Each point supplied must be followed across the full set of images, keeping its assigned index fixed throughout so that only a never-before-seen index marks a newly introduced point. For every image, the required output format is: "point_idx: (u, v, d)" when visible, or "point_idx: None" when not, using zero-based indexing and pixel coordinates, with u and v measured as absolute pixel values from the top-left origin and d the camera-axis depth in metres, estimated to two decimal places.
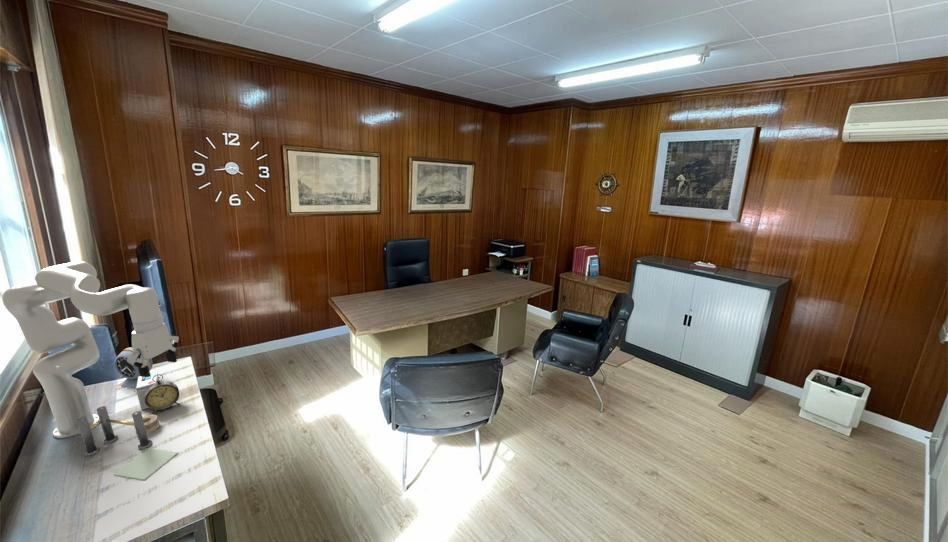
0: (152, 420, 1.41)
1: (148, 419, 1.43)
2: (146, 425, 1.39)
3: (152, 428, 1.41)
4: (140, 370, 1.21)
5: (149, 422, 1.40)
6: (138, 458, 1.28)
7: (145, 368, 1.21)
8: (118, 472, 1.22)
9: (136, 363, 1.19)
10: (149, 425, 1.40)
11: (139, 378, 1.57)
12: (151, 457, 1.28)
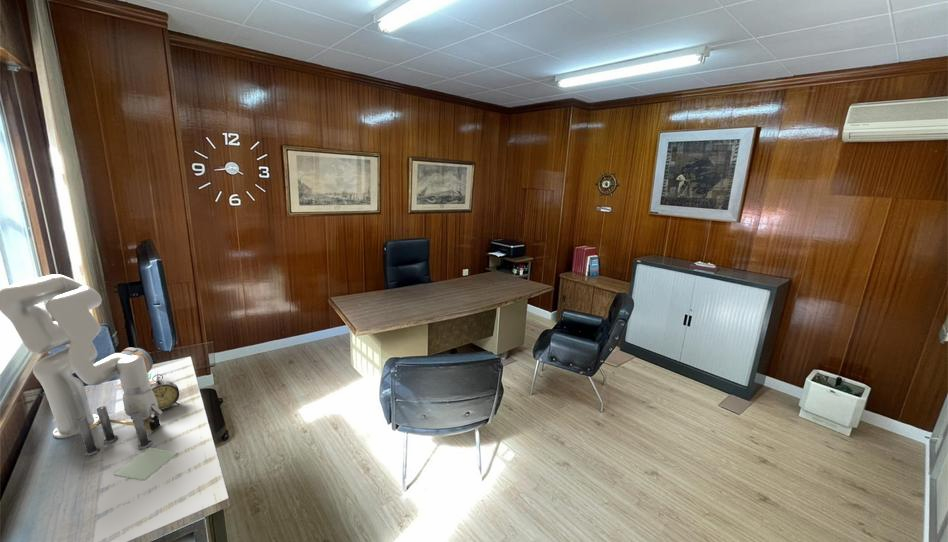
0: None
1: (148, 419, 1.43)
2: (146, 425, 1.39)
3: None
4: (156, 422, 1.41)
5: None
6: (138, 458, 1.28)
7: (157, 419, 1.42)
8: (118, 472, 1.22)
9: None
10: (149, 425, 1.40)
11: None
12: (151, 457, 1.28)
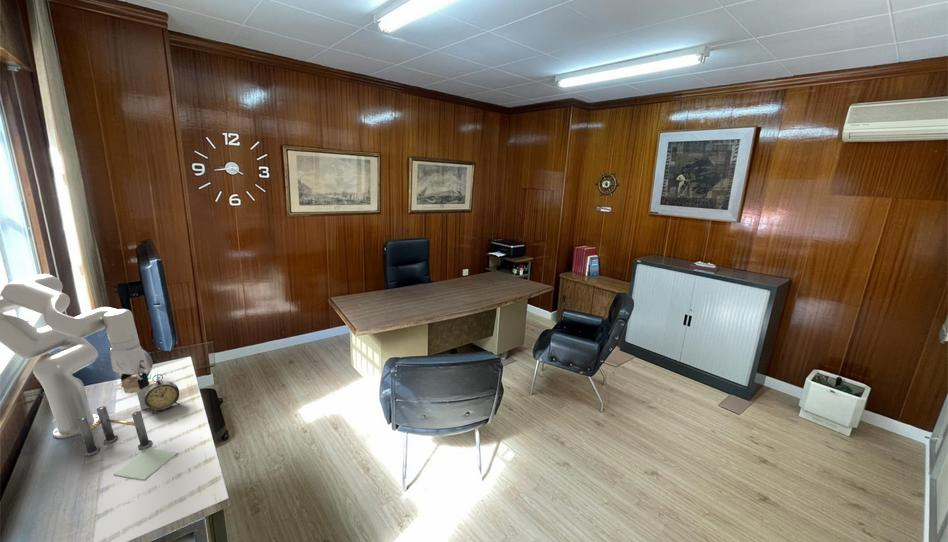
0: None
1: (137, 377, 1.38)
2: (134, 383, 1.34)
3: None
4: (144, 380, 1.35)
5: None
6: (138, 458, 1.28)
7: None
8: (118, 472, 1.22)
9: None
10: (137, 383, 1.34)
11: None
12: (151, 457, 1.28)
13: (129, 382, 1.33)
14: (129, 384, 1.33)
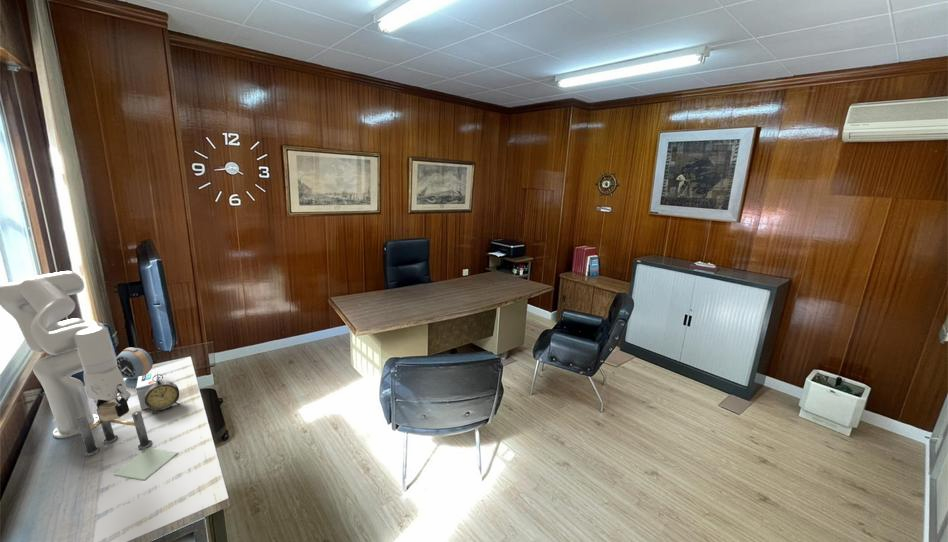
0: None
1: None
2: (111, 409, 1.19)
3: None
4: (123, 407, 1.20)
5: None
6: (138, 458, 1.28)
7: (125, 403, 1.21)
8: (118, 472, 1.22)
9: None
10: (115, 409, 1.19)
11: (139, 378, 1.57)
12: (151, 457, 1.28)
13: (106, 409, 1.18)
14: (105, 411, 1.18)
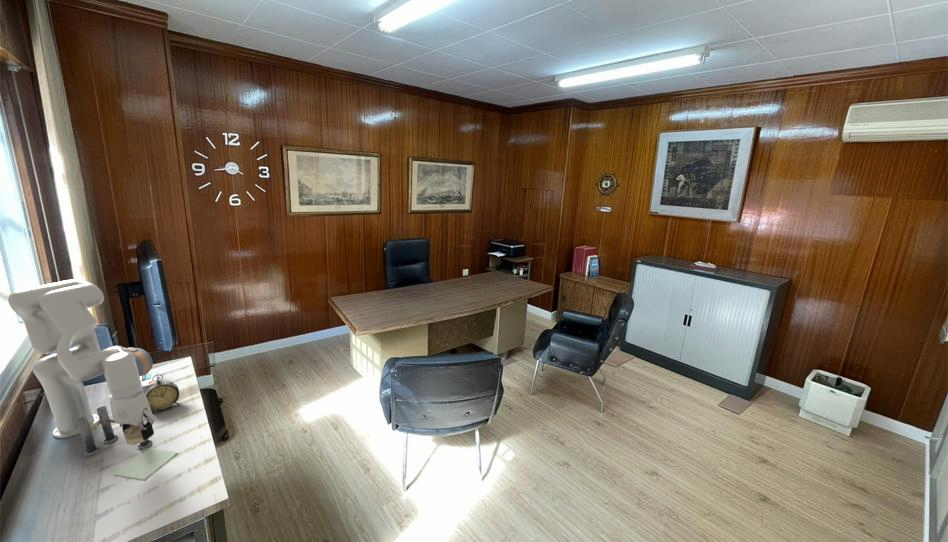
0: None
1: None
2: (137, 433, 1.20)
3: None
4: (148, 430, 1.21)
5: None
6: (138, 458, 1.28)
7: (150, 426, 1.22)
8: (118, 472, 1.22)
9: None
10: None
11: None
12: (151, 457, 1.28)
13: (131, 433, 1.19)
14: (131, 435, 1.19)
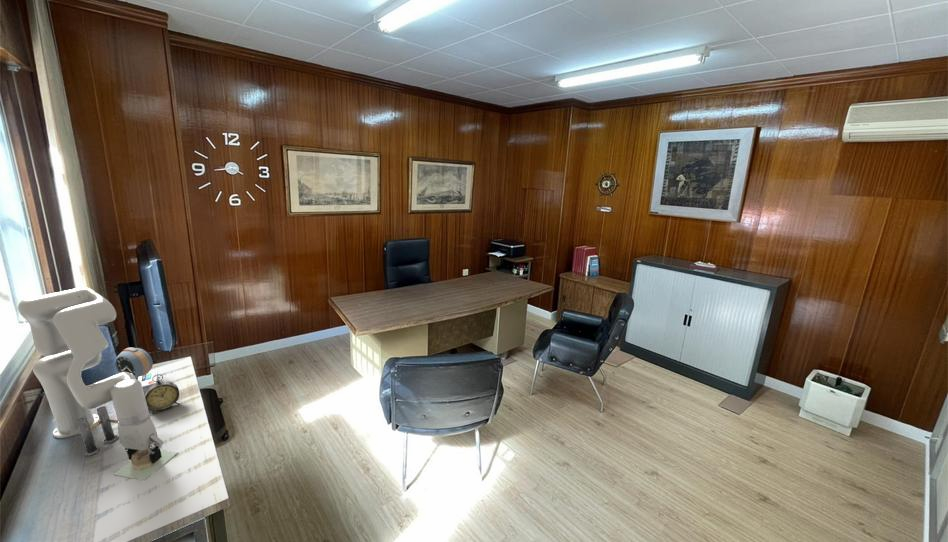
0: None
1: (146, 451, 1.27)
2: (144, 459, 1.23)
3: None
4: (156, 454, 1.24)
5: (148, 455, 1.24)
6: None
7: (158, 450, 1.25)
8: (118, 472, 1.22)
9: None
10: (148, 459, 1.23)
11: (139, 378, 1.57)
12: None
13: (138, 459, 1.23)
14: (138, 461, 1.22)
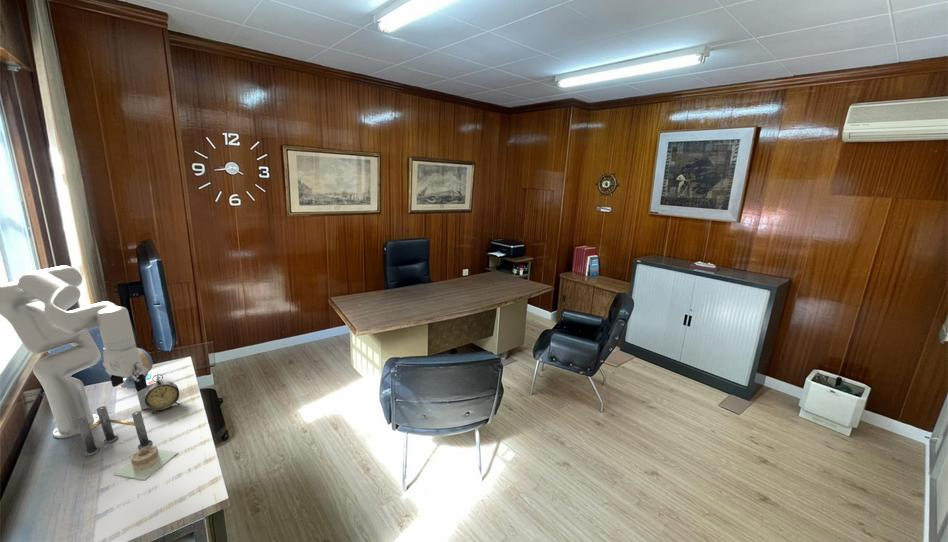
0: (151, 453, 1.25)
1: (146, 451, 1.27)
2: (144, 459, 1.23)
3: (151, 462, 1.25)
4: (142, 382, 1.25)
5: (148, 455, 1.24)
6: None
7: (144, 379, 1.26)
8: (118, 472, 1.22)
9: None
10: (148, 459, 1.23)
11: None
12: None
13: (138, 459, 1.23)
14: (138, 461, 1.22)
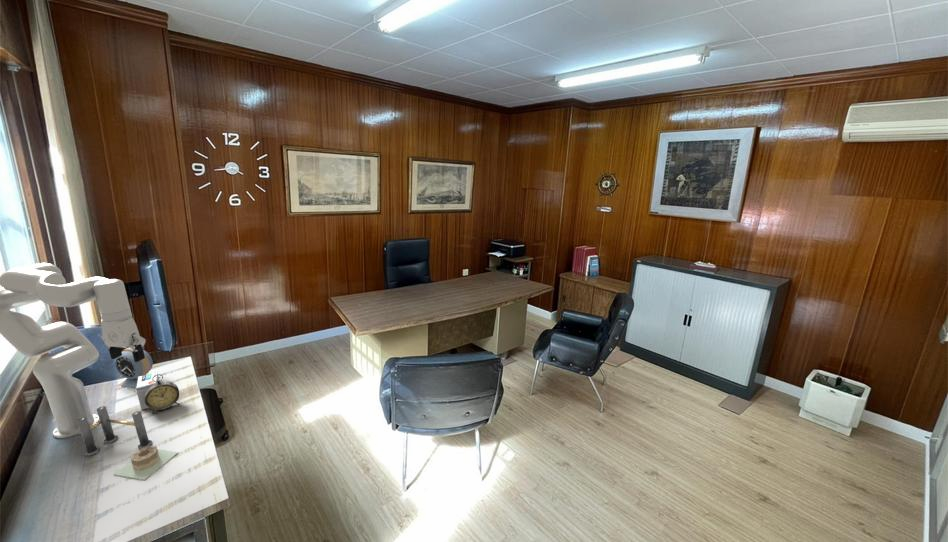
0: (151, 453, 1.25)
1: (146, 451, 1.27)
2: (144, 459, 1.23)
3: (151, 462, 1.25)
4: (140, 353, 1.29)
5: (148, 455, 1.24)
6: None
7: (141, 350, 1.30)
8: (118, 472, 1.22)
9: None
10: (148, 459, 1.23)
11: (139, 378, 1.57)
12: None
13: (138, 459, 1.23)
14: (138, 461, 1.22)
